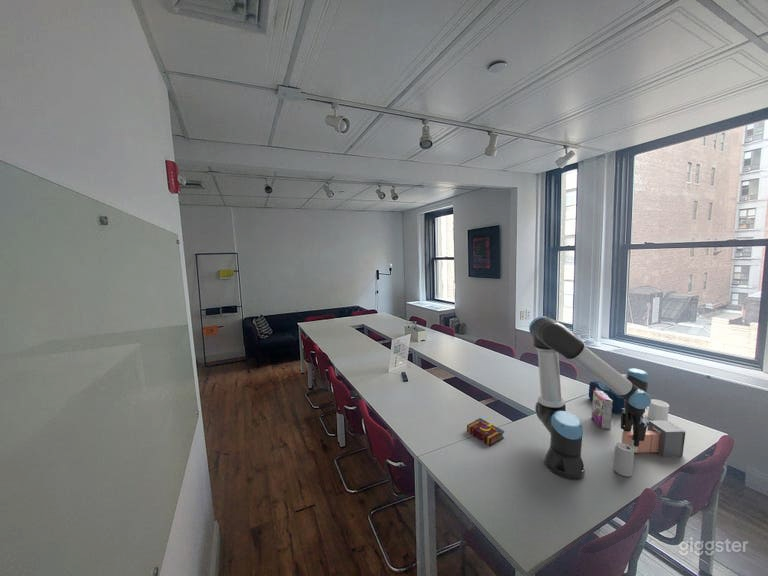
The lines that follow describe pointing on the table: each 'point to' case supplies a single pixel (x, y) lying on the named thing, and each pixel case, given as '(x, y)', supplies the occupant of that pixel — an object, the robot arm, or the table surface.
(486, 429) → the decorative book
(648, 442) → the tall pink prism
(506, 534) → the table surface
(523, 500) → the table surface
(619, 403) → the radio
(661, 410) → the mug
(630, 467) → the beverage can
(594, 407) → the candy bar box
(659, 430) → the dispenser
